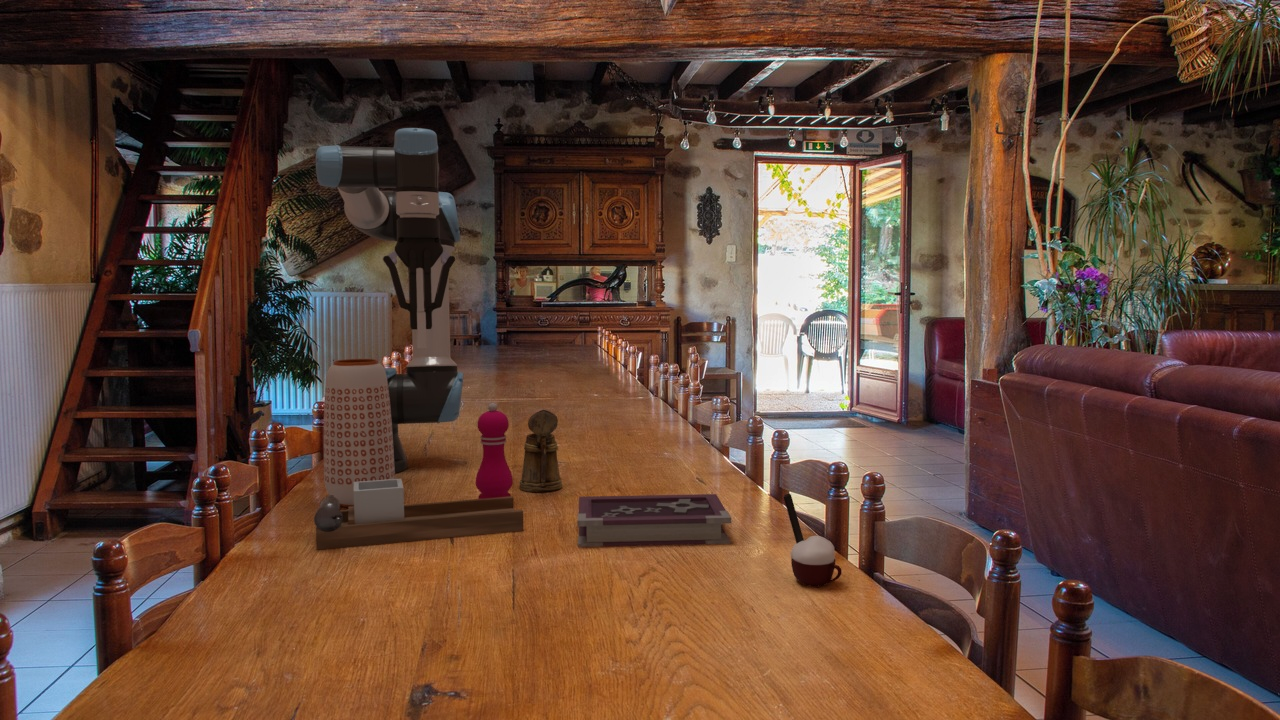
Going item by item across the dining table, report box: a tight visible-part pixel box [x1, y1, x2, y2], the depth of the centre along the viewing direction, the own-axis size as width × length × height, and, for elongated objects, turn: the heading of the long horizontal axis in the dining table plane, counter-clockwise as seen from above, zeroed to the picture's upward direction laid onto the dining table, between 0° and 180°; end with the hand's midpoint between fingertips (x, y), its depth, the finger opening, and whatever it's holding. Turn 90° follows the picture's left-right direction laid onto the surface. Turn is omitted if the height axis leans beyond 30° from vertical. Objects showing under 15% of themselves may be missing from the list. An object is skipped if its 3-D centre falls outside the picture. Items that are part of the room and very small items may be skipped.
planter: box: [323, 358, 396, 508], centre depth 171 cm, size 13×13×28 cm
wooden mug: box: [519, 409, 563, 493], centre depth 180 cm, size 9×14×18 cm, turn 11°
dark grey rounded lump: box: [313, 494, 343, 532], centre depth 145 cm, size 12×4×6 cm, turn 18°
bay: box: [315, 495, 524, 551], centre depth 152 cm, size 11×34×4 cm, turn 108°
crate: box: [354, 478, 405, 524], centre depth 149 cm, size 7×8×7 cm
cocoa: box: [783, 493, 843, 588], centre depth 125 cm, size 10×6×12 cm, turn 22°
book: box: [577, 493, 732, 548], centre depth 151 cm, size 25×16×5 cm, turn 93°
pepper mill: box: [475, 402, 514, 499], centre depth 169 cm, size 7×7×20 cm
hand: (421, 347), depth 159 cm, fingers closed
